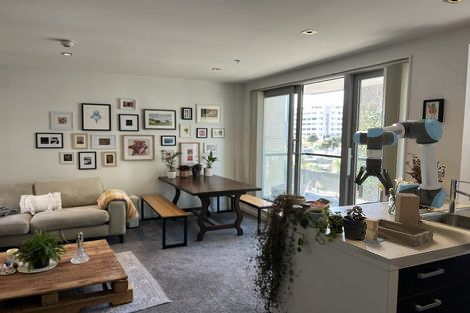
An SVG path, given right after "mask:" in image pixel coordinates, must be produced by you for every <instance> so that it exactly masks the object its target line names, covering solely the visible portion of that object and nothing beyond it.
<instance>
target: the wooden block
mask: <svg viewBox="0 0 470 313" xmlns="http://www.w3.org/2000/svg"><path fill="white" fill-rule="evenodd" d="M419 200H420V197H419V196H417V195H415V194H406V193H399V192H397V193H396V194H395V205H394V206H395V207H394V222H398V223H402V224H407V225H411V226H415V227H419V222H418V217H419V212H420V205H419Z"/></svg>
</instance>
